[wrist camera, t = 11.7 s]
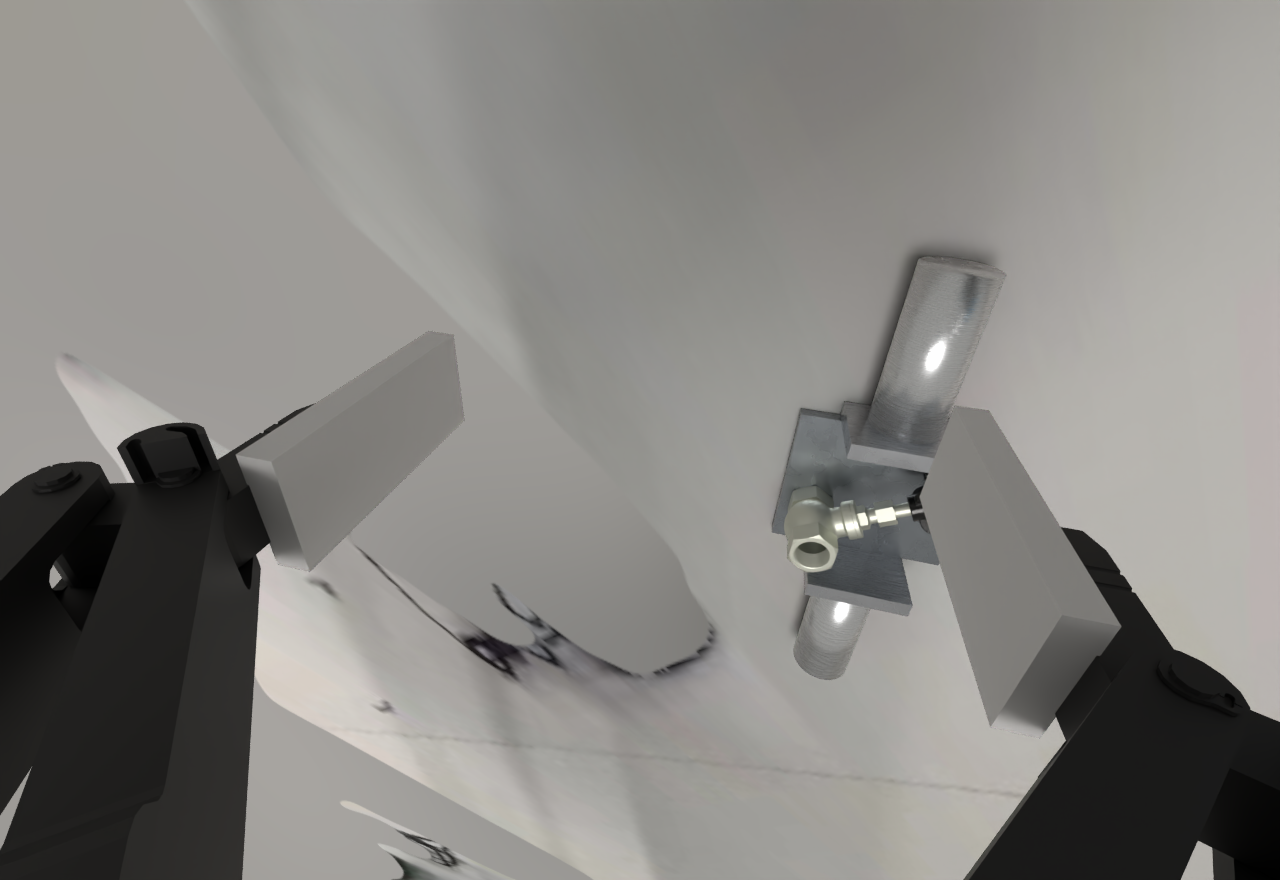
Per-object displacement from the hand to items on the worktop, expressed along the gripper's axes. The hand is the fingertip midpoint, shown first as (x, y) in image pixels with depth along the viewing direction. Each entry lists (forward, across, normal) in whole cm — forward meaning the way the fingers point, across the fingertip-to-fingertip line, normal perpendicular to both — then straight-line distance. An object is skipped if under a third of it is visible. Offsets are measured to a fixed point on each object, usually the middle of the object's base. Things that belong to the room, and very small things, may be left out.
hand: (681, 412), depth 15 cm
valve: (+28, +12, -20) cm, 36 cm away
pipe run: (+28, +13, -20) cm, 37 cm away
